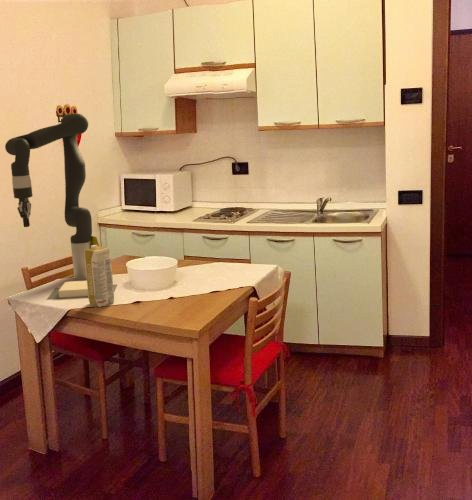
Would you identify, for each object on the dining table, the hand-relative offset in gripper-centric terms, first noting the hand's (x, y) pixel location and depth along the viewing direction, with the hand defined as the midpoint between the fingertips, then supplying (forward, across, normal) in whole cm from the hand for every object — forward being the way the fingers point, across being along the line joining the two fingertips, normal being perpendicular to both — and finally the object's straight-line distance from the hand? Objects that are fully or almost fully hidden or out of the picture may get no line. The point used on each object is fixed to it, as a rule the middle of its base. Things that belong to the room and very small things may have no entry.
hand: (26, 226), depth 274 cm
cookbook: (+27, -6, -14) cm, 31 cm away
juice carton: (+29, -24, -33) cm, 50 cm away
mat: (+29, -6, -22) cm, 37 cm away
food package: (+29, +28, -25) cm, 48 cm away
